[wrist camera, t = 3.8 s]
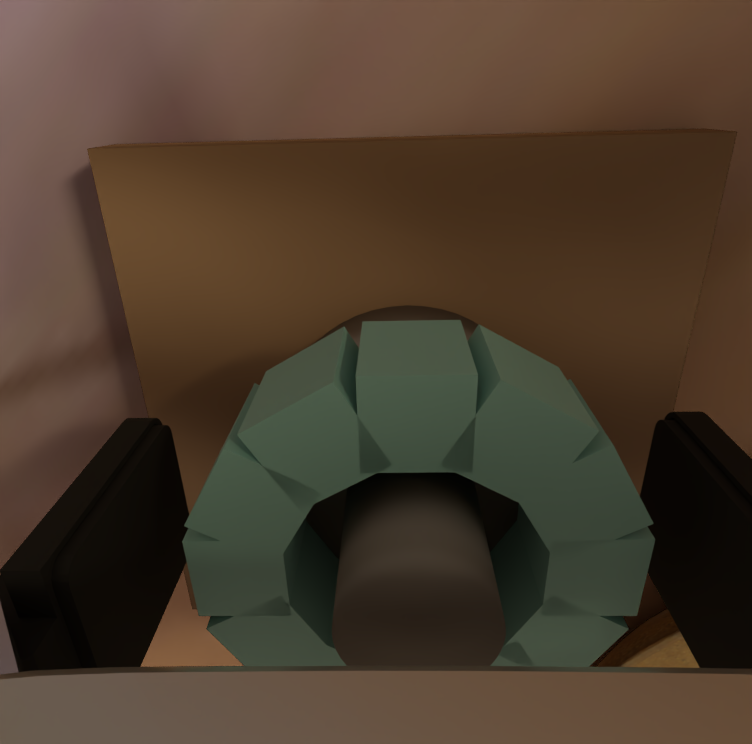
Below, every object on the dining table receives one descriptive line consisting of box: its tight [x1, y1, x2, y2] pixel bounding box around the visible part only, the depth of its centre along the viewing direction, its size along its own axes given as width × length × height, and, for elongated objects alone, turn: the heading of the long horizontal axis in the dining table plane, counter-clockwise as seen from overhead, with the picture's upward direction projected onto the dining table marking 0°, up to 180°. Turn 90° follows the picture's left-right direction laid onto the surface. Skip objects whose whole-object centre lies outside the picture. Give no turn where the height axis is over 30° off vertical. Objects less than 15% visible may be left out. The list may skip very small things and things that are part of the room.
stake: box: [87, 129, 737, 666], centre depth 11 cm, size 12×12×7 cm
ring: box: [182, 320, 655, 667], centre depth 10 cm, size 9×7×2 cm
